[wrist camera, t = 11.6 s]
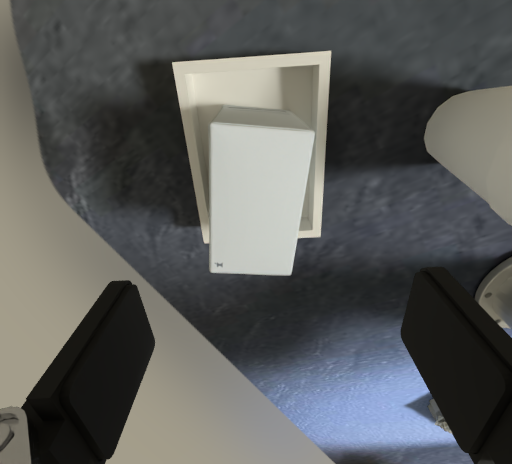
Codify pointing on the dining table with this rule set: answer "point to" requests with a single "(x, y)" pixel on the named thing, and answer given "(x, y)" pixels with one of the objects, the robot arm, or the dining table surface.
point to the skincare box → (256, 189)
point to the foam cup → (477, 143)
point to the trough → (259, 96)
